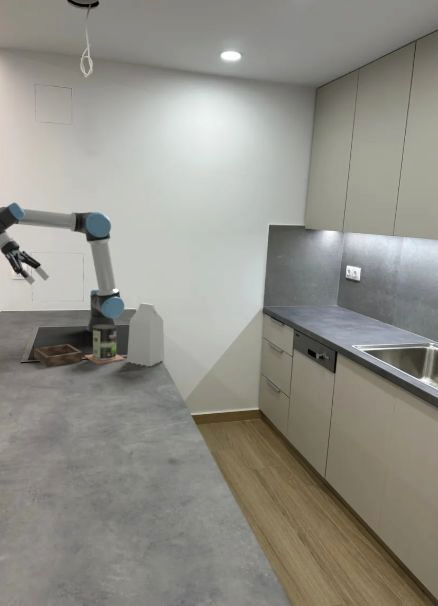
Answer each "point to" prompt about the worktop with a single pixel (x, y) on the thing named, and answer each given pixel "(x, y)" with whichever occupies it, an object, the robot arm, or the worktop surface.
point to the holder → (57, 355)
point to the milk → (146, 336)
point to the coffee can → (104, 341)
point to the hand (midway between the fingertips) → (40, 280)
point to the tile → (104, 360)
